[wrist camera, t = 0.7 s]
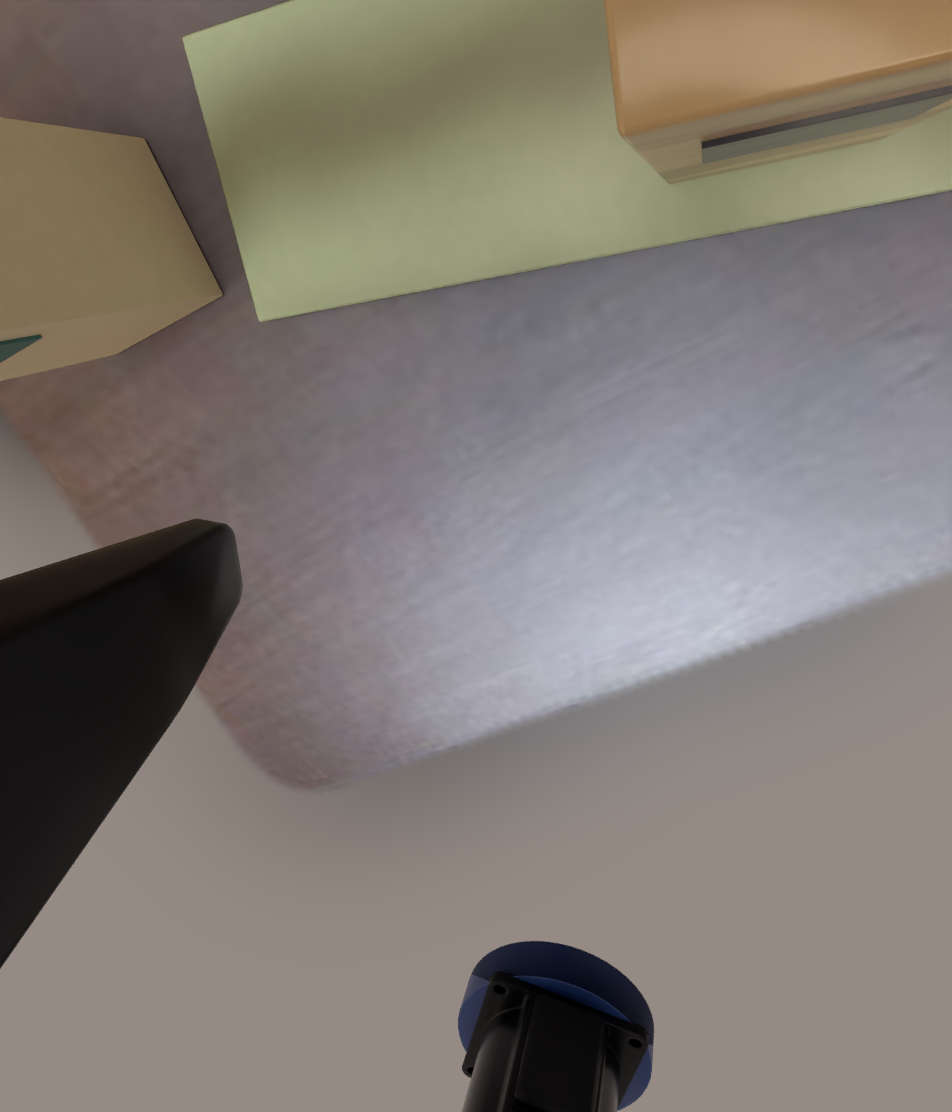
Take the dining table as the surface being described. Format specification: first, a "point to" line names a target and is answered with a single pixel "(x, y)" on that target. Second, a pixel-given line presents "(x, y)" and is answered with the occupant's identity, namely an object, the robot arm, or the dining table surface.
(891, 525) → the dining table surface
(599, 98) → the block line
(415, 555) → the dining table surface
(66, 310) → the tall cream block
